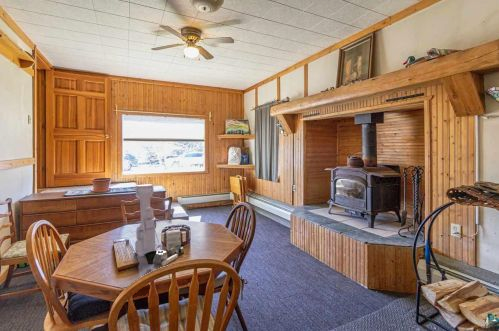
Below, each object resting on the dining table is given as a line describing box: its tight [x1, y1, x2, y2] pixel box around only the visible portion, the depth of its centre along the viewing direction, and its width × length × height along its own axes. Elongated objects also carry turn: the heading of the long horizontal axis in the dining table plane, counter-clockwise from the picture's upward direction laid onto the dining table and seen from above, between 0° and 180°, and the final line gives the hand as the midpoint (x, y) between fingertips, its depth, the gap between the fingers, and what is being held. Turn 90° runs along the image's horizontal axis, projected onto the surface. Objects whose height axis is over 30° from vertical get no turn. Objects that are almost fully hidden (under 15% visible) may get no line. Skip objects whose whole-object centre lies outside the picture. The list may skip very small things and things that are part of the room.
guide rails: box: [153, 254, 179, 267], centre depth 155 cm, size 10×12×2 cm
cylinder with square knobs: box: [168, 245, 185, 256], centre depth 164 cm, size 6×8×4 cm
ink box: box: [165, 229, 182, 252], centre depth 172 cm, size 9×5×12 cm, turn 117°
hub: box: [153, 249, 168, 266], centre depth 152 cm, size 5×5×6 cm
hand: (150, 264), depth 145 cm, fingers closed
